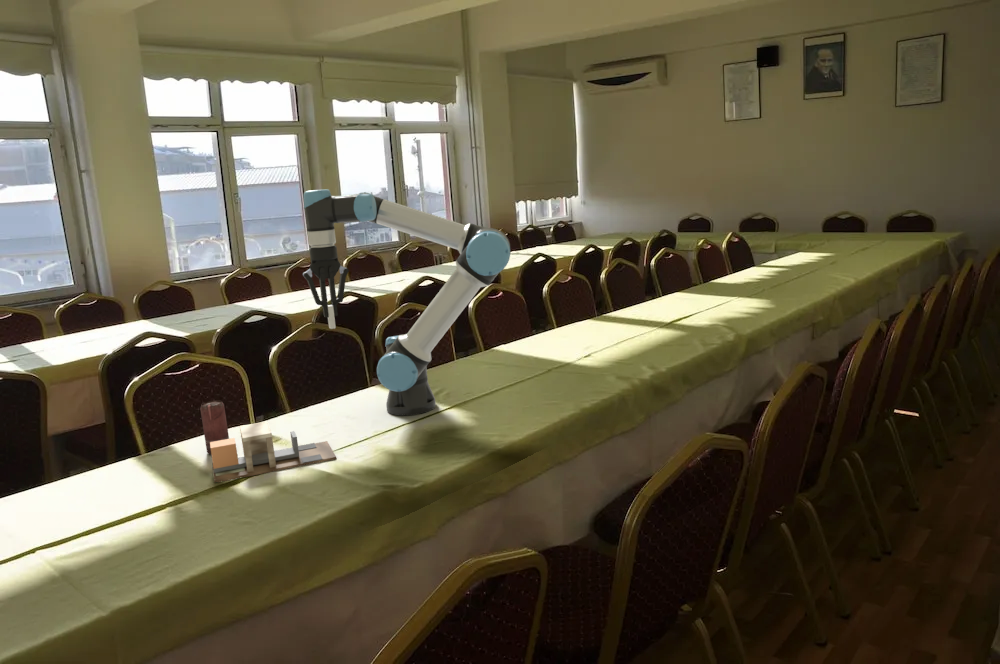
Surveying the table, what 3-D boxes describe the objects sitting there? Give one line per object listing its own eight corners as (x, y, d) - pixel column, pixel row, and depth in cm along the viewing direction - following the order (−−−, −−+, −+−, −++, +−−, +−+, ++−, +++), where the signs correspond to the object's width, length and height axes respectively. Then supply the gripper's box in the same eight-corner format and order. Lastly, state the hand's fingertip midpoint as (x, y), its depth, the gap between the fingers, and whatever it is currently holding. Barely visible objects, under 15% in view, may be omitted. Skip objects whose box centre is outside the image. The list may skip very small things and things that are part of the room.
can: (206, 457, 211) (198, 407, 208) (208, 449, 217) (200, 401, 214) (229, 453, 212) (222, 404, 210) (231, 446, 218) (224, 398, 216)
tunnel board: (327, 443, 215) (323, 409, 213) (336, 459, 203) (332, 423, 201) (212, 464, 205) (207, 430, 203) (214, 483, 192) (208, 446, 190)
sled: (296, 450, 208) (293, 427, 207) (299, 456, 203) (296, 432, 202) (213, 466, 201) (209, 442, 199) (214, 472, 196) (210, 448, 195)
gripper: (343, 242, 225) (352, 322, 229) (297, 247, 220) (307, 329, 225) (348, 244, 218) (357, 326, 223) (300, 248, 213) (311, 333, 218)
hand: (332, 327), depth 224 cm, fingers closed
